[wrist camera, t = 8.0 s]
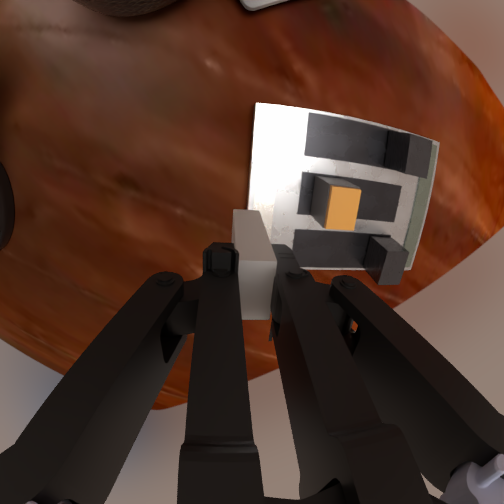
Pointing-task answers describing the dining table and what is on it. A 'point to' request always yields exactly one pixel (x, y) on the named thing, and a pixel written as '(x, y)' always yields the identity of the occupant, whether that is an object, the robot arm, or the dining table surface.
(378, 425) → the robot arm
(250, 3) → the light switch
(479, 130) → the dining table surface
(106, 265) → the dining table surface
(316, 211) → the block
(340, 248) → the panel
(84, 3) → the planter
